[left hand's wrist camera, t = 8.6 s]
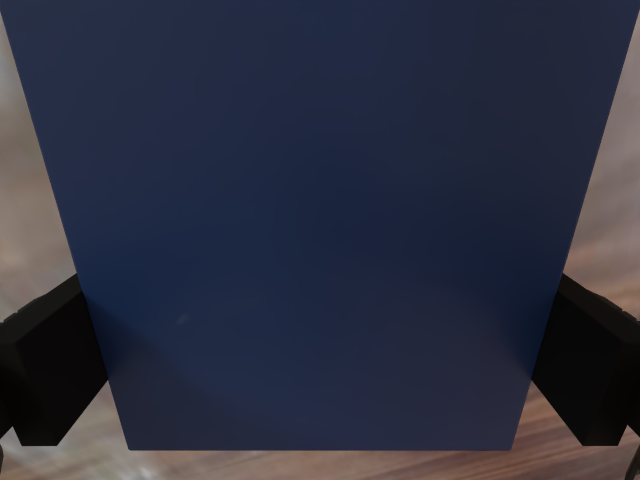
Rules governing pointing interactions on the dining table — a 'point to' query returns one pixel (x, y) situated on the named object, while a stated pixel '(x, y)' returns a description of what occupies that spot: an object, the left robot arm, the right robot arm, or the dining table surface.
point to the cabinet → (319, 205)
